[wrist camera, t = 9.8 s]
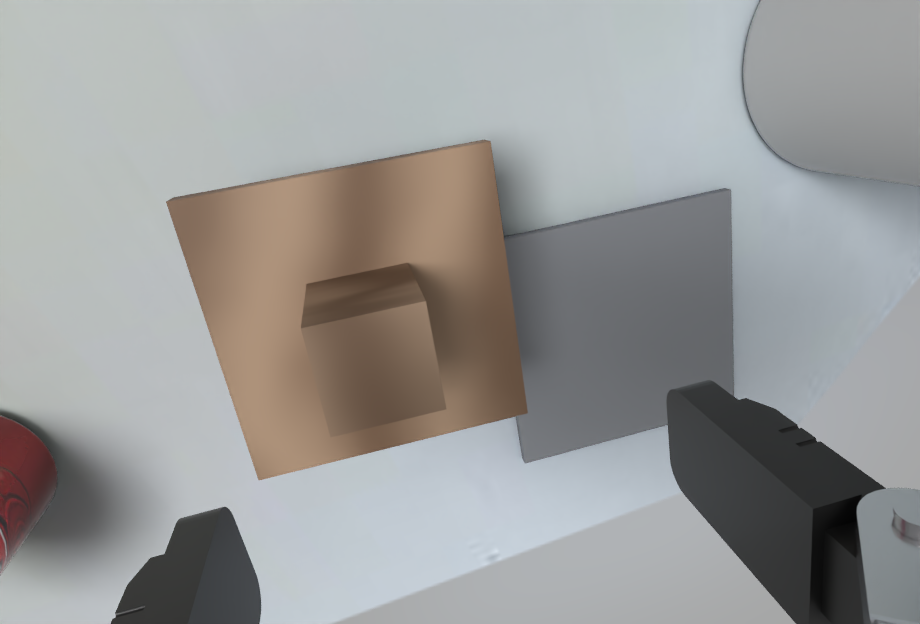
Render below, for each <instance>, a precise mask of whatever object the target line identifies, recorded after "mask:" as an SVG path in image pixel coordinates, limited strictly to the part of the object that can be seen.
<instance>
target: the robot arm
mask: <svg viewBox="0 0 920 624" xmlns="http://www.w3.org/2000/svg"><path fill="white" fill-rule="evenodd" d="M666 403H667V419H668V434H669V448H670V461H671V467H672V471H673V474H674V477H675V479H676V481H677V483H678V485H679V487H680V489H681V491H682V492H683V493H684V495H685V496H686V497H687V498H688V499H689V501H690V502H691V503H692V504H693V505H694V506H695V508H696V509H697V510H698V511H699V512H700V513H701V514H702V516H703V517H704V518H705V519H706V520H707V521H708V523H709V524H710V525H711V526H712V527H713V528H714V529H715V530H716V532H717V533H718V534H719V535H720V536H721V538H722V539H723V540H724V541H725V542H726V543H727V544H728V546H729V547H730V548H731V549H732V550H733V551H734V553H735V554H736V555H737V556H738V557H739V558H740V559H741V561H742V562H743V563H744V564H745V565H746V566H747V568H749V570H750V571H751V572H752V573H753V574H754V576H755V577H756V578H757V579H758V580H759V581H760V583H761V584H762V585H763V586H764V587H765V588H766V589H767V591H768V592H769V593H770V594H771V595H772V596H773V597H774V599H775V600H776V601H777V602H778V603H779V604H780V606H781V607H782V608H783V609H784V610H785V611H786V613H787V614H788V615H789V616H790V617H791V618H792V619H793V621H794V622H795V623H796V624H920V490H916V489H909V488H908V489H907V488H888V489H886V488H884V487H883V486H882V485H880V484H879V483H878V482H876V481H875V480H873V479H872V478H871V477H869V476H868V475H866V474H865V473H864V472H862V471H861V470H859V469H858V468H857V467H855V466H854V465H853V464H851V463H850V462H848V461H847V460H846V459H844V458H843V457H841V456H840V455H839V454H837V453H836V452H834V451H833V450H832V449H830V448H829V447H827V446H826V445H824V444H823V443H822V442H817V441H816V438H815V437H813V436H812V435H811V434H809V433H808V432H806V431H805V430H804V429H802V428H800V429H799V428H798V426H797V424H795V423H794V422H793V421H791V420H790V419H788V418H787V417H786V416H784V415H783V414H781V413H780V412H779V411H777V410H776V409H774V408H771V407H768V406H766V405H763V404H760V403H758V402H755V401H752V400H749V399H747V398H745V399H741V400H738V399H736V398H735V397H734V396H732V395H731V394H730V393H728V392H727V391H726V390H724V389H723V388H722V387H721V386H719V385H718V384H717V383H715V382H714V381H711V380H706V381H702V382H698V383H694V384H691V385H687V386H683V387H679V388H675V389H672V390H670V391H669V392H668V394H667V399H666ZM115 614H116V618H114V619H112V622H111V624H259V622H260V615H261V596H260V588H259V583H258V579H257V576H256V573H255V570H254V568H253V565H252V563H251V560H250V558H249V555H248V553H247V550H246V547H245V545H244V542H243V540H242V537H241V535H240V532H239V530H238V527H237V525H236V522H235V519H234V517H233V515H232V513H231V511H230V510H229V509H228V508H227V507H222V508H218V509H214V510H211V511H207V512H203V513H199V514H195V515H192V516H188V517H184V518H181V519H179V520H178V521H177V523H176V525H175V528H174V531H173V533H172V536H171V539H170V541H169V544H168V547H167V549H166V552H165V554H163V555H160V556H156V557H152V558H150V559H149V560H148V562H147V563H146V564H145V565H144V566H143V567H142V569H141V570H140V571H139V572H138V573H137V574H136V576H135V577H134V578H133V579H132V580H131V581H130V583H129V584H128V585H127V587H126V589H125V592H124V594H123V596H122V599H121V601H120V603H119V605H118V608H117V610H116V612H115Z"/></svg>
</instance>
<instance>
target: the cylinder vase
mask: <svg viewBox="0 0 920 624" xmlns="http://www.w3.org/2000/svg"><path fill="white" fill-rule="evenodd" d="M743 81H744V91H745V97H746V102H747V106H748V109H749V113H750V115H751V118H752V120H753V123H754V125H755V127H756V129H757V130H758V132H759V134H760V135H761V137H762V138H763V140H764V141H765V142H766V143H767V145H768V146H769V147H770V148H771V149H772V150H773V151H774V152H775V153H777V154H778V155H779V156H780V157H782V158H783V159H785V160H786V161H788V162H790V163H792V164H794V165H796V166H798V167H801V168H804V169H807V170H811V171H817V172H824V173H831V174H838V175H845V176H851V177H858V178H865V179H872V180H879V181H886V182H893V183H900V184H907V185H914V186H920V0H761V1H760V3H759V5H758V7H757V9H756V12H755V14H754V17H753V20H752V23H751V26H750V29H749V33H748V37H747V41H746V46H745V53H744V63H743Z"/></svg>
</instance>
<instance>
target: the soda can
mask: <svg viewBox="0 0 920 624" xmlns="http://www.w3.org/2000/svg"><path fill="white" fill-rule="evenodd" d="M56 487H57V469H56V466H55V462H54V459H53V457H52V455H51V453H50V451H49V449H48V448H47V446H46V445H45V444H44V443H43V442H42V440H41V439H40V438H39V437H38V436H37V435H35V434H34V433H33V432H32V431H31V430H29V429H28V428H26V427H25V426H23V425H21V424H19V423H18V422H16V421H14V420H12V419H9V418H6V417H4V416H1V415H0V576H1V574H2V573H3V571H4V570H5V568H6V567H7V566H8V564H9V563H10V561H11V560H12V558H13V557H14V555H15V554H16V553H17V551H18V550H19V548H20V547H21V545H22V544H23V543H24V541H25V540H26V538H27V537H28V535H29V534H30V532H31V531H32V530H33V528H34V527H35V525H36V524H37V522H38V521H39V519H40V518H41V517H42V515H43V514H44V512H45V511H46V509H47V508H48V506H49V505H50V503H51V501H52V499H53V497H54V495H55V491H56Z"/></svg>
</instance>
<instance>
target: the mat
mask: <svg viewBox="0 0 920 624" xmlns="http://www.w3.org/2000/svg"><path fill="white" fill-rule="evenodd" d="M504 243H505V250H506V257H507V265H508V272H509V279H510V286H511V294H512V301H513V308H514V315H515V323H516V330H517V337H518V344H519V352H520V359H521V366H522V373H523V381H524V388H525V395H526V402H527V410H528V413H527V414H523V415H519V416H516V421H517V427H518V434H519V440H520V446H521V452H522V458H523V460H524V462H525V463H529V462H532V461H536V460H540V459H543V458H547V457H551V456H554V455H558V454H562V453H565V452H569V451H573V450H576V449H580V448H584V447H587V446H591V445H595V444H599V443H602V442H606V441H610V440H613V439H617V438H621V437H624V436H628V435H632V434H635V433H639V432H643V431H646V430H650V429H654V428H657V427H661V426H665V425H668V419H667V403H666V399H667V394H668V392H669V391H670V390H672V389H675V388H679V387H683V386H687V385H691V384H694V383H698V382H702V381H706V380H711V381H714V382H715V383H717V384H718V385H719V386H721V387H722V388H723V389H724V390H726V391H727V392H728V393H730V394H731V395H732V396H734V382H733V305H732V229H731V190H730V189H725V188H724V189H719V190H715V191H710V192H706V193H701V194H697V195H692V196H688V197H683V198H679V199H674V200H670V201H665V202H661V203H656V204H651V205H647V206H642V207H638V208H633V209H629V210H624V211H620V212H615V213H611V214H606V215H602V216H597V217H593V218H588V219H584V220H579V221H575V222H570V223H566V224H561V225H557V226H552V227H547V228H543V229H538V230H534V231H529V232H525V233H520V234H516V235H511V236H507V237H504Z"/></svg>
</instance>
